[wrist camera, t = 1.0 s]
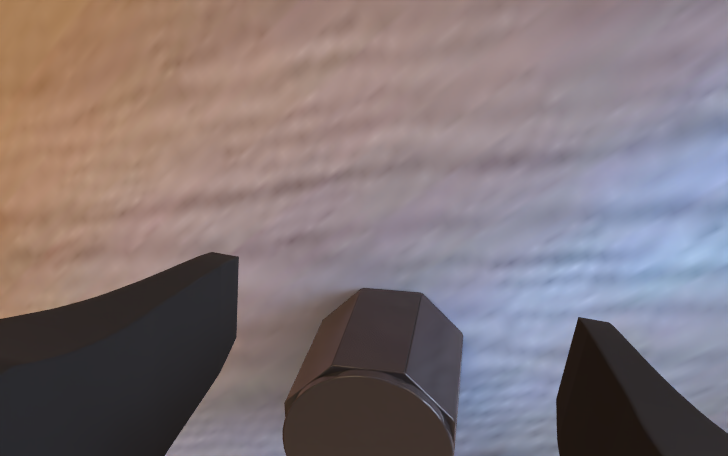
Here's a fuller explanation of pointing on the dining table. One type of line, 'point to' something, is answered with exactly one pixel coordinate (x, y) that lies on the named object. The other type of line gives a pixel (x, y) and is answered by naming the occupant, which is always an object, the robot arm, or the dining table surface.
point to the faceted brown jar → (377, 381)
